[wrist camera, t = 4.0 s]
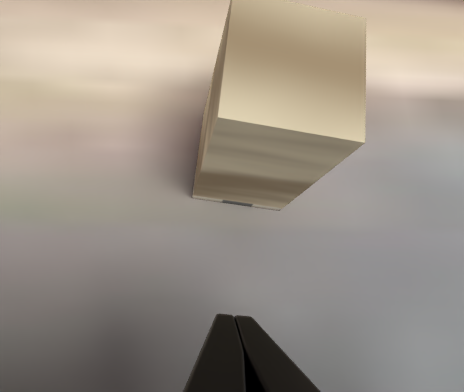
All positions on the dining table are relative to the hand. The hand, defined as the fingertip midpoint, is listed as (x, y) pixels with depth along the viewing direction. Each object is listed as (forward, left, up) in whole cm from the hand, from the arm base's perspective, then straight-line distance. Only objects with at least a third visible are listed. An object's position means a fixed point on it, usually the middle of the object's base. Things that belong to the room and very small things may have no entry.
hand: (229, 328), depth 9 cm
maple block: (+4, +7, -10) cm, 13 cm away
